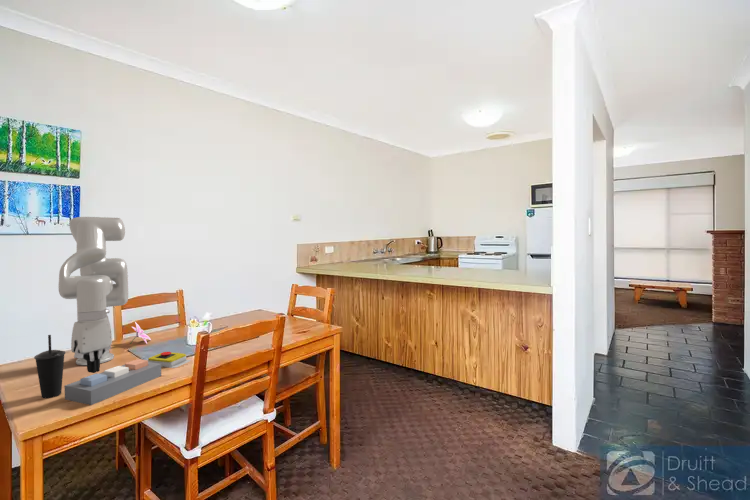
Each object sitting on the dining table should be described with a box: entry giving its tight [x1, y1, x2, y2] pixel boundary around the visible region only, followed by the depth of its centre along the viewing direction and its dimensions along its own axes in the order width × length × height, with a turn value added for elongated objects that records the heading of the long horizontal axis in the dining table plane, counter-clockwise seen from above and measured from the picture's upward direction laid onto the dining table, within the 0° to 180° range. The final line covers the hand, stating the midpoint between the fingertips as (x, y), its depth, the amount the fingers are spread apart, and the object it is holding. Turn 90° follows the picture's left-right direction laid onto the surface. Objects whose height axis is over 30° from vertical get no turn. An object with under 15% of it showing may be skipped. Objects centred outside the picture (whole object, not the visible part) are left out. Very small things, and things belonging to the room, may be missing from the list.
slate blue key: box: [80, 372, 107, 387], centre depth 120 cm, size 5×5×3 cm
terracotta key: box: [124, 358, 148, 370], centre depth 134 cm, size 5×5×3 cm
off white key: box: [103, 365, 129, 378], centre depth 127 cm, size 5×5×3 cm
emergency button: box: [147, 351, 191, 369], centre depth 151 cm, size 9×4×15 cm
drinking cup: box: [33, 334, 66, 399], centre depth 120 cm, size 8×8×20 cm
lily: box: [130, 321, 152, 345], centre depth 178 cm, size 12×12×10 cm
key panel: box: [63, 362, 162, 406], centre depth 127 cm, size 12×25×4 cm, turn 162°
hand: (93, 371), depth 119 cm, fingers closed
